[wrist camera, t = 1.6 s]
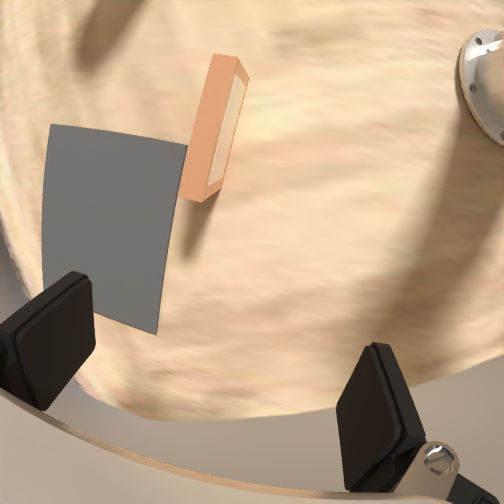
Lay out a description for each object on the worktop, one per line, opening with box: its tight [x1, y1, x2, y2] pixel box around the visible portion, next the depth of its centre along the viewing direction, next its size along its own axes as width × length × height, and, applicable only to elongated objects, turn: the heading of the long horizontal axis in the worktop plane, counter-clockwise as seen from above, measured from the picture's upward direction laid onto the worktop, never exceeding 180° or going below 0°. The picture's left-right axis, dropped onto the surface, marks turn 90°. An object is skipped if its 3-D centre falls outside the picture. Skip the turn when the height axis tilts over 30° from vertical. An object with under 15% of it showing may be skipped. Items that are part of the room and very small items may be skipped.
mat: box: [42, 124, 188, 334], centre depth 30 cm, size 20×16×1 cm
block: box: [179, 53, 249, 202], centre depth 22 cm, size 10×2×7 cm, turn 166°
